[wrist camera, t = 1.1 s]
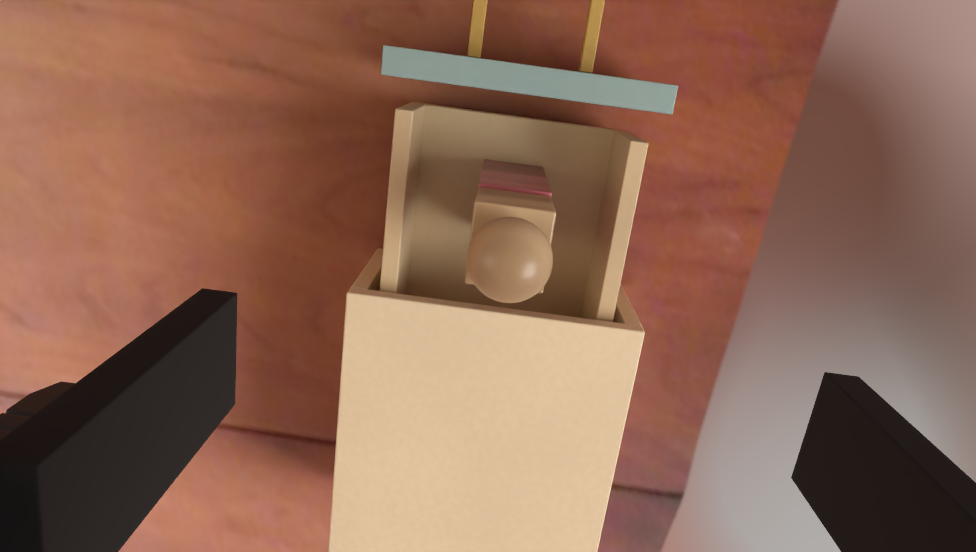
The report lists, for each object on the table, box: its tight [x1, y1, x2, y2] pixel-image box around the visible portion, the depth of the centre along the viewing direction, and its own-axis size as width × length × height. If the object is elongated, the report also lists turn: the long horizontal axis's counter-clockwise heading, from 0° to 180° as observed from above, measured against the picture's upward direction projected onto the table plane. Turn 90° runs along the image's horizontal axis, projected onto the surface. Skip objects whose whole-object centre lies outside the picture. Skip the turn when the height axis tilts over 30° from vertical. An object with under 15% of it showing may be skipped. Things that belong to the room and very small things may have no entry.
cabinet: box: [328, 248, 645, 552], centre depth 36 cm, size 16×14×8 cm
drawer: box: [379, 0, 678, 322], centre depth 32 cm, size 19×12×6 cm, turn 173°
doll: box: [465, 159, 556, 303], centre depth 28 cm, size 4×3×13 cm
